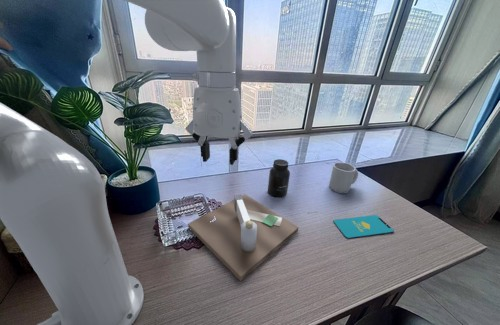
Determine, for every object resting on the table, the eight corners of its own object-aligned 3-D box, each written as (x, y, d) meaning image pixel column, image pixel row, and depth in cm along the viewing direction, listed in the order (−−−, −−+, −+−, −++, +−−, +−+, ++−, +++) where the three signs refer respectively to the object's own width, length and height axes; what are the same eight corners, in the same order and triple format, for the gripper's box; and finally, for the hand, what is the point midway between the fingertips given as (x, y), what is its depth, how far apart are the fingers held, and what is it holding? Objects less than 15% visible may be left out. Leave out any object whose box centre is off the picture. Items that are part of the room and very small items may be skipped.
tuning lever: (257, 250, 49) (259, 227, 46) (242, 253, 48) (243, 229, 45) (243, 211, 62) (244, 191, 58) (231, 213, 61) (231, 192, 58)
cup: (325, 183, 81) (329, 162, 77) (348, 181, 83) (353, 161, 79) (335, 194, 75) (341, 172, 71) (360, 192, 77) (367, 170, 73)
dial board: (240, 281, 44) (240, 275, 43) (188, 227, 57) (187, 222, 56) (297, 231, 58) (298, 226, 57) (244, 197, 71) (244, 193, 70)
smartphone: (332, 219, 62) (376, 214, 65) (331, 221, 62) (375, 216, 65) (346, 238, 56) (395, 231, 58) (346, 240, 56) (394, 233, 59)
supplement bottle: (282, 201, 70) (286, 168, 65) (264, 194, 73) (266, 163, 68) (290, 191, 75) (294, 161, 70) (272, 185, 78) (275, 156, 73)
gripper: (168, 80, 41) (178, 164, 49) (256, 85, 39) (252, 172, 46) (185, 77, 48) (191, 151, 55) (261, 81, 45) (257, 158, 53)
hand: (219, 160), depth 51 cm, fingers open, 5 cm apart
